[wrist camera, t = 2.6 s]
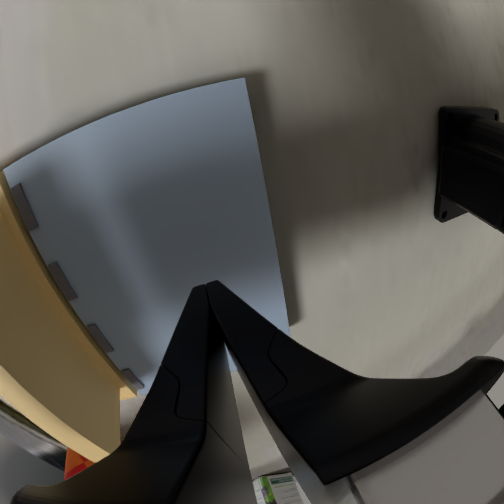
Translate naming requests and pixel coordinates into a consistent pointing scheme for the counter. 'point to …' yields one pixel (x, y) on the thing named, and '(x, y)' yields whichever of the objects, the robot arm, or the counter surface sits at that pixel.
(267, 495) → the syrup box
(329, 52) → the counter surface
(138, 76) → the counter surface
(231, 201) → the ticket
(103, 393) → the stub
